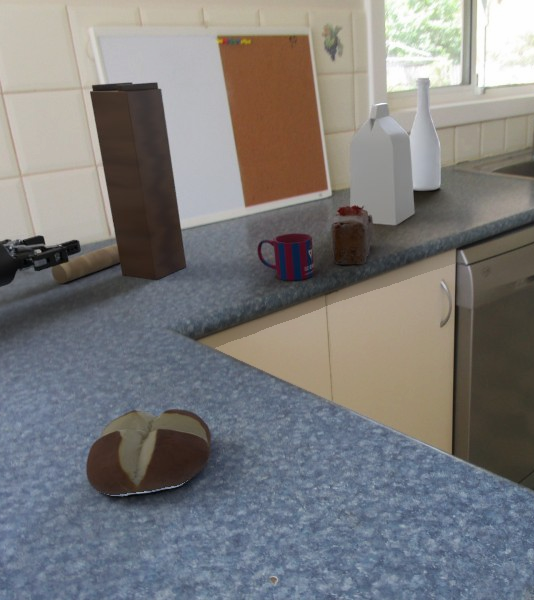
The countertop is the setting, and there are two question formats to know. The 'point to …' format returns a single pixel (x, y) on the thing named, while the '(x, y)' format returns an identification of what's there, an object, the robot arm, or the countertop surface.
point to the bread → (148, 452)
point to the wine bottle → (424, 143)
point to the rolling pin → (86, 264)
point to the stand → (139, 178)
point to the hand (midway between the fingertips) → (60, 243)
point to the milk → (382, 169)
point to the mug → (291, 256)
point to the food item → (351, 235)
